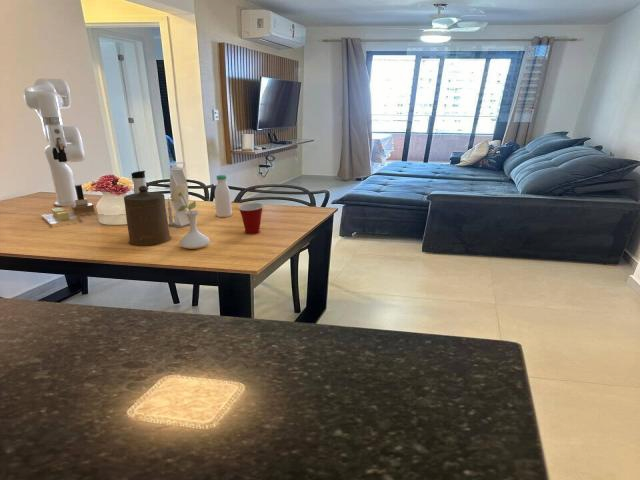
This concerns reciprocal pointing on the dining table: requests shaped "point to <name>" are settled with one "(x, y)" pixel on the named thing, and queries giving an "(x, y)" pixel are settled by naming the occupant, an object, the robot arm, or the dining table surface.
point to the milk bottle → (222, 197)
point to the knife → (80, 196)
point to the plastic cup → (251, 216)
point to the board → (53, 220)
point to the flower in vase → (194, 236)
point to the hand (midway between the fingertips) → (60, 160)
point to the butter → (57, 211)
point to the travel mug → (138, 180)
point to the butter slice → (62, 215)
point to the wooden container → (146, 217)
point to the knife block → (82, 209)
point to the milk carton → (180, 216)
